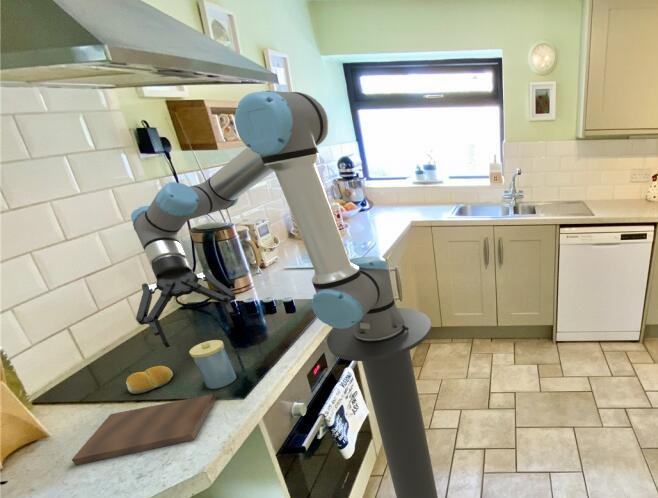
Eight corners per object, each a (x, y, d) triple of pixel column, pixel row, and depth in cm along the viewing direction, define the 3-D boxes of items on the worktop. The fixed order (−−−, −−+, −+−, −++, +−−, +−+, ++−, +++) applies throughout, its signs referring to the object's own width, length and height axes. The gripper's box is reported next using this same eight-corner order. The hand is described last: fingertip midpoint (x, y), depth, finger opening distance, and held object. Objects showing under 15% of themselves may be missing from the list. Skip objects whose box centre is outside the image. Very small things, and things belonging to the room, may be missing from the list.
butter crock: (240, 370, 107) (224, 333, 102) (233, 385, 101) (215, 346, 96) (210, 376, 105) (193, 338, 100) (201, 391, 99) (182, 352, 94)
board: (215, 399, 96) (213, 394, 96) (193, 439, 84) (190, 434, 84) (114, 419, 92) (110, 413, 91) (75, 465, 80) (71, 459, 79)
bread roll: (178, 380, 104) (171, 367, 102) (133, 398, 98) (125, 385, 96) (168, 369, 109) (162, 356, 107) (125, 386, 103) (118, 372, 101)
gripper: (227, 258, 116) (257, 323, 112) (110, 283, 102) (141, 359, 98) (223, 243, 109) (255, 312, 106) (99, 268, 95) (131, 348, 92)
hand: (200, 335), depth 102 cm, fingers open, 13 cm apart
